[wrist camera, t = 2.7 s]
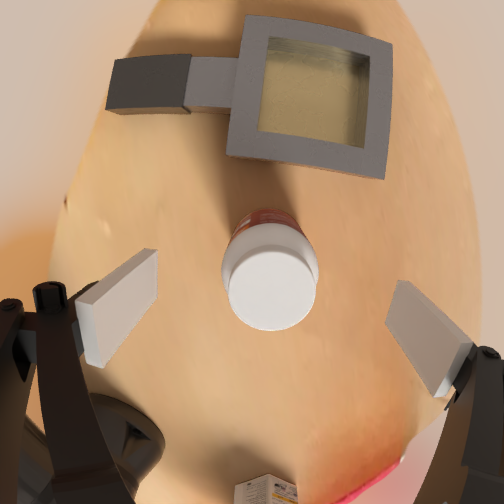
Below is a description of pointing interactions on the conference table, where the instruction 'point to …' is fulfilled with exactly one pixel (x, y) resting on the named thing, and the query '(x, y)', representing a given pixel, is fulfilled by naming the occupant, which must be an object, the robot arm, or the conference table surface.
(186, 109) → the grey square pan
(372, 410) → the conference table surface
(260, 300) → the pill bottle
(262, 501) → the container
